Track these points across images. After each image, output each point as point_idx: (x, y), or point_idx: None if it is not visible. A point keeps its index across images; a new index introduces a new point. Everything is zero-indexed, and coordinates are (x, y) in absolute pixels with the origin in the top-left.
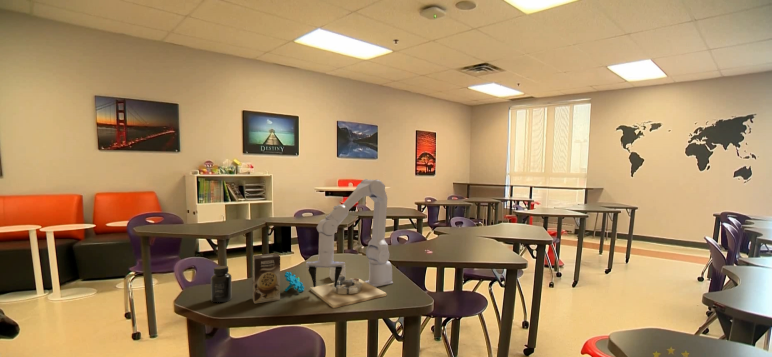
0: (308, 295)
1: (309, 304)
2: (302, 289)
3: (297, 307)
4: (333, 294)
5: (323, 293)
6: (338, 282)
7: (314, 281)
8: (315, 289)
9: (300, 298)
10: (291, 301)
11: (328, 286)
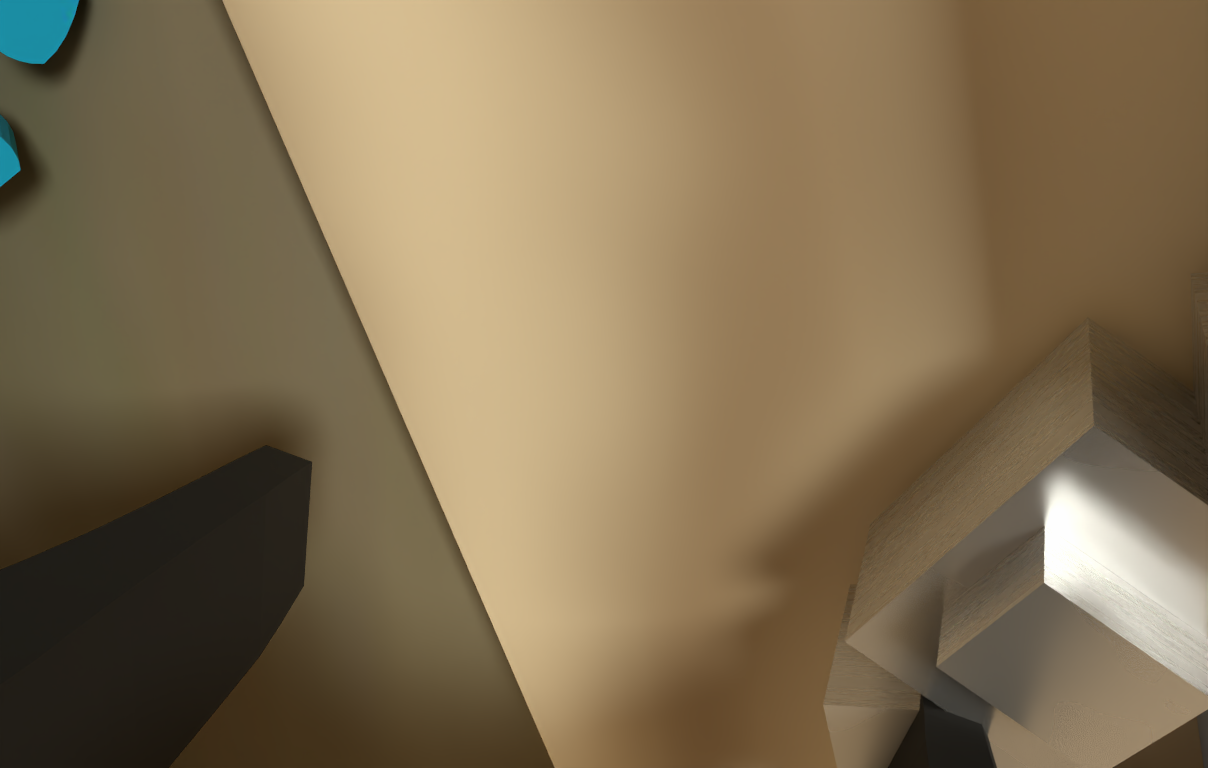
0: (266, 342)
1: (338, 760)
2: (21, 58)
3: (174, 763)
4: (825, 754)
5: (589, 585)
6: (1086, 754)
7: (171, 737)
8: (381, 199)
9: (133, 439)
10: (15, 506)
11: (845, 49)
